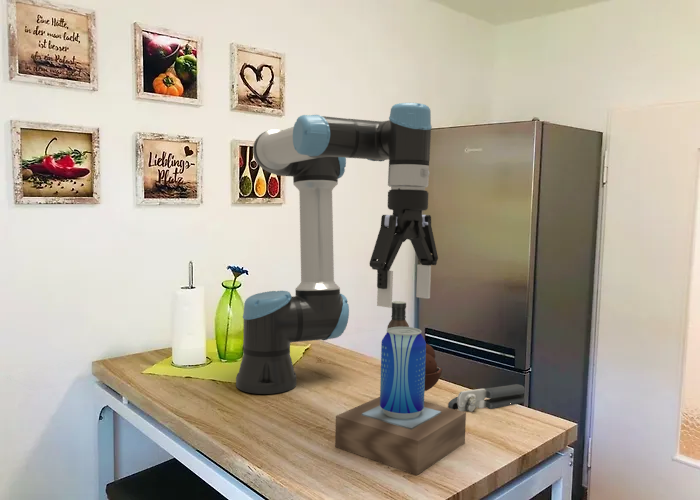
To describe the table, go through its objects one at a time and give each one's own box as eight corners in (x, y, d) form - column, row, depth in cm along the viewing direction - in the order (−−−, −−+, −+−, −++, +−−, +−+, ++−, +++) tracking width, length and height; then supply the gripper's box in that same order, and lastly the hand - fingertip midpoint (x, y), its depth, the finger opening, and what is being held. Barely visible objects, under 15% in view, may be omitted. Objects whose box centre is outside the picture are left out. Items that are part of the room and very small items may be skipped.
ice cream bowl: (390, 400, 136) (392, 337, 135) (438, 401, 136) (440, 339, 135) (392, 416, 126) (394, 348, 125) (444, 418, 125) (446, 350, 124)
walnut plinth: (335, 446, 109) (335, 414, 109) (388, 420, 124) (388, 391, 123) (417, 475, 98) (418, 439, 98) (464, 442, 113) (466, 410, 112)
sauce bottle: (414, 375, 157) (416, 302, 155) (396, 379, 153) (398, 304, 152) (398, 369, 162) (400, 299, 161) (381, 373, 158) (383, 301, 157)
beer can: (422, 422, 106) (424, 336, 104) (376, 418, 107) (378, 333, 106) (425, 407, 114) (427, 327, 113) (382, 403, 115) (385, 324, 114)
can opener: (460, 417, 127) (461, 394, 127) (444, 407, 133) (445, 386, 132) (529, 407, 135) (530, 385, 134) (512, 398, 140) (512, 378, 140)
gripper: (387, 186, 95) (383, 313, 97) (457, 191, 115) (453, 296, 117) (351, 186, 100) (348, 307, 101) (424, 190, 119) (421, 292, 121)
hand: (404, 302), depth 109 cm, fingers open, 13 cm apart
